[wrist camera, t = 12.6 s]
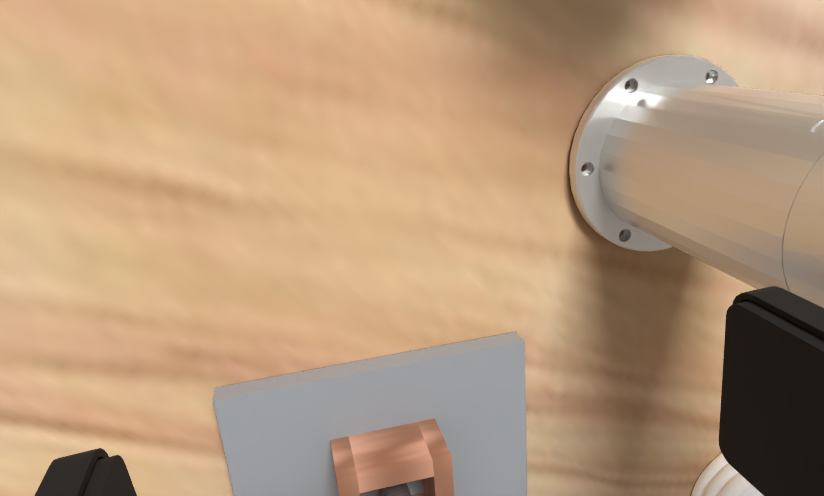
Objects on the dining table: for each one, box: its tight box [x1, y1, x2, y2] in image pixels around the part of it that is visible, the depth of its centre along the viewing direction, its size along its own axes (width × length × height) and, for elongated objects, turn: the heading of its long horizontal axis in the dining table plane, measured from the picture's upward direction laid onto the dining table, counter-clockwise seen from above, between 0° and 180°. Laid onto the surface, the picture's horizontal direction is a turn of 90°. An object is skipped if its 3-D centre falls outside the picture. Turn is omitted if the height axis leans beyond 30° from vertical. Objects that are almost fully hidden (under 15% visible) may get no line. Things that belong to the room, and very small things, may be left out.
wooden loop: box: [330, 418, 455, 496], centre depth 39 cm, size 7×7×4 cm
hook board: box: [213, 332, 527, 496], centre depth 42 cm, size 20×16×2 cm
